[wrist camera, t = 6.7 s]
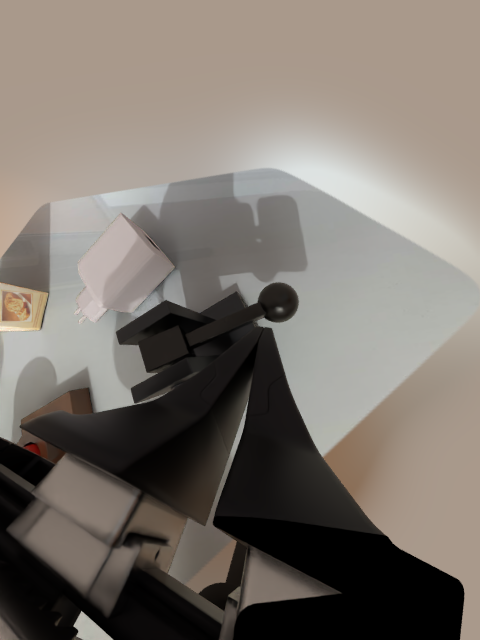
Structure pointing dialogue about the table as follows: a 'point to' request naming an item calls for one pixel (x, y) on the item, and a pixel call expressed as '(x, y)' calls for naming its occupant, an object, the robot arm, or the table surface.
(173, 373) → the black lever mechanism
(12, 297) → the coffeecake box
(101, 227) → the table surface
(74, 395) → the button block
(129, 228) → the charger
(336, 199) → the table surface
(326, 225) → the table surface
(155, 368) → the lever
